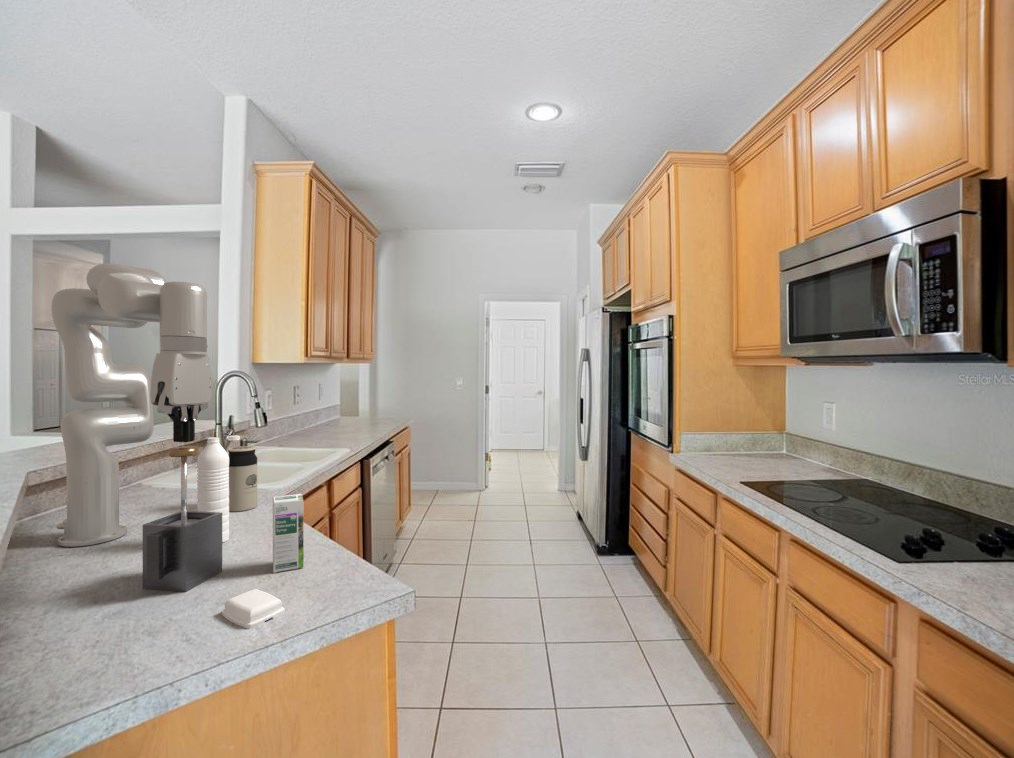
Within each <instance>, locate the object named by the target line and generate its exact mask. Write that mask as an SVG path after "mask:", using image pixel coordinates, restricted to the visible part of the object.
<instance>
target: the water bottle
mask: <svg viewBox="0 0 1014 758" xmlns="http://www.w3.org/2000/svg"><path fill="white" fill-rule="evenodd" d="M240 439H241V435H235V434H234V435H228V436H227V440H228V441H232V442H233V441H240ZM196 459H197V460H196V466H197V471H196V472H197V480H196V481H197V487H196V489H197V491H196V493H197V494H196V498H197V502H196V503H197V505H196V506H197V510H196V511H201V512H220V513H222V543H225V542H227V541H228V540H229V539H230V511H229V452H227V451H226V449H225V448H224V447H223V446H222V445H221V443H220V437H216V436H214V437H207V440H206V445H205V446H204V447H203V449H202V450H201V451H200V453H199V454H198V456H197V458H196Z"/></svg>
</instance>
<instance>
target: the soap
mask: <svg viewBox="0 0 1014 758" xmlns="http://www.w3.org/2000/svg"><path fill="white" fill-rule="evenodd" d="M285 611H286V610H285V607H284V606H283V602H282V600H281V599H280V598H277V597H276V596H274V595H272V594H271V593H268V592H265V591H263V590H260V589H257V588H254V589H251V590H248V591H245V592H243V593H241V594H238V595H236V596H233V597H231V598H229V599H227V600H226V601H225V603H224V608H223V609H222V611H221V616H222V617H223V618H225V619H227V621H230V622H231V623H233V624H235V625H238V626H239V627H242V628H244V629H248V630H250V629H253V628H255V627H256V628H257V627H258V626H260V625H263V624H265V621H267V620H268V621H269V620H270V619H273V620H274V619H276V618H277V617H280V616H282V615H283V614H285Z"/></svg>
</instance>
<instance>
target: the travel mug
mask: <svg viewBox="0 0 1014 758" xmlns="http://www.w3.org/2000/svg"><path fill="white" fill-rule="evenodd" d="M256 450H257V447H256V446H253V445H242V446H233V447H229V448H227V451H228V455H229V512H234V513H235V512H236V513H238V512H247V511H250V510H253V509H255V508H256V507H257V506H258V457H257V454H256Z"/></svg>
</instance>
